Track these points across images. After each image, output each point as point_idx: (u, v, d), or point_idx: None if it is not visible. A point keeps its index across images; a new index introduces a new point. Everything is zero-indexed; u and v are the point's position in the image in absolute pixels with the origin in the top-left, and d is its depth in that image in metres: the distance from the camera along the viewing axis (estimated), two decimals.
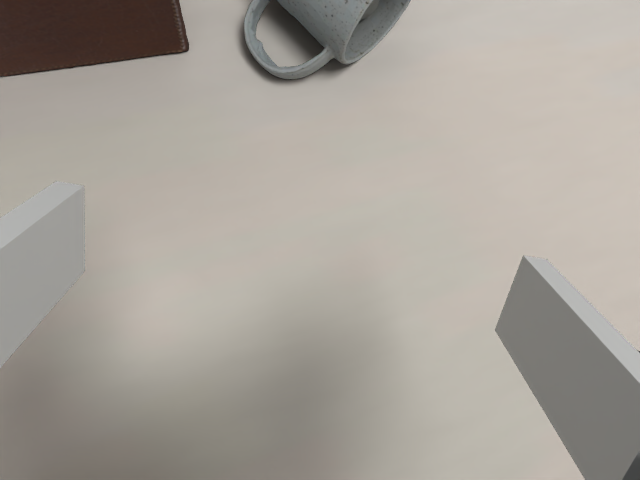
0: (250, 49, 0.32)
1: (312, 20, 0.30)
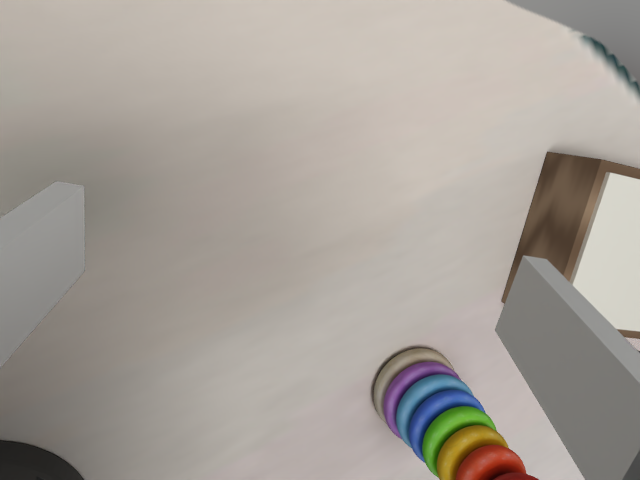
0: None
1: None
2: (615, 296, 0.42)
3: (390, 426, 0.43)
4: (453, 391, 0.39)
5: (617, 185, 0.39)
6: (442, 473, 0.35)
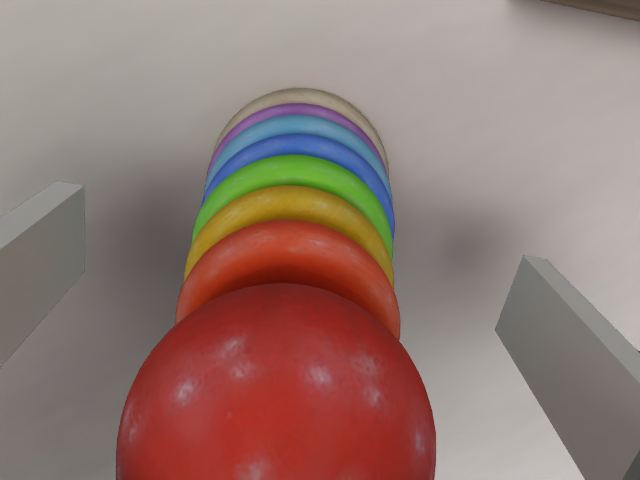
0: None
1: None
2: None
3: None
4: (301, 134, 0.16)
5: None
6: None
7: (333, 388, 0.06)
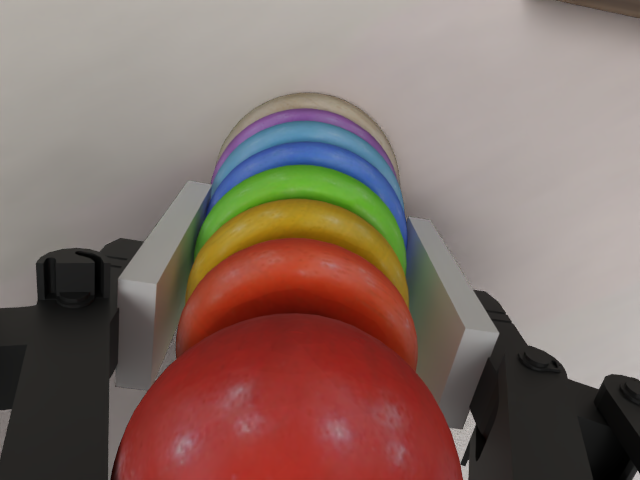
0: None
1: None
2: None
3: None
4: (309, 142, 0.15)
5: None
6: None
7: (353, 445, 0.06)
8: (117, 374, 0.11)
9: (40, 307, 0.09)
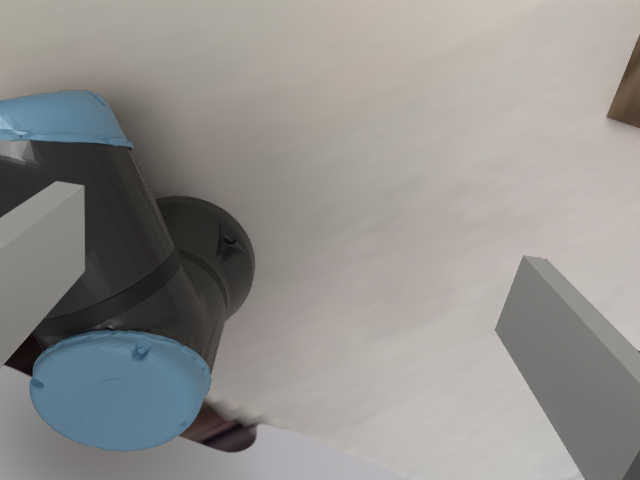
0: None
1: None
2: None
3: None
4: None
5: None
6: None
7: None
8: None
9: None
